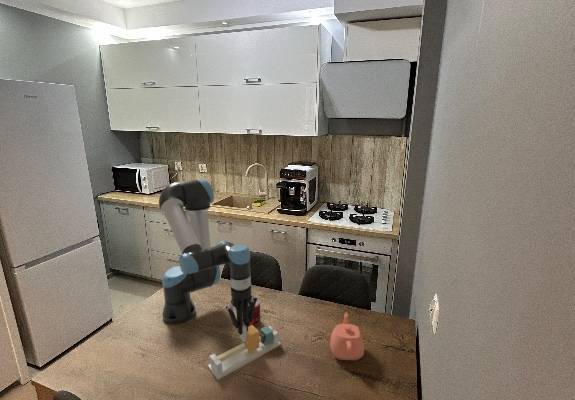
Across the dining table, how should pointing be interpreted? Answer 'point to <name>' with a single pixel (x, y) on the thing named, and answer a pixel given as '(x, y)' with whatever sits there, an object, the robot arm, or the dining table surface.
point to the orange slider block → (252, 339)
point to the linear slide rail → (243, 353)
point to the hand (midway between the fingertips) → (243, 339)
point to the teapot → (347, 341)
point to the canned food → (256, 315)
